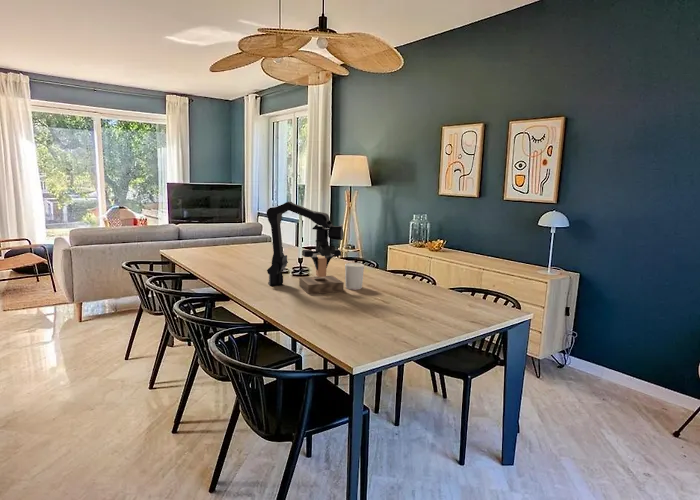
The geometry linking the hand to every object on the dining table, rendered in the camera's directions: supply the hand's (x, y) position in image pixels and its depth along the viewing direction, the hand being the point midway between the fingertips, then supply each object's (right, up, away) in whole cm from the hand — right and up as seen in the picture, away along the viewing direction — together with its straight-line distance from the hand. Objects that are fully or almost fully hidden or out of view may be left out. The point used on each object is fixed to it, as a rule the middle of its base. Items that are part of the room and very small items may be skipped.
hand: (321, 269), depth 217 cm
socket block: (0, -10, +2) cm, 10 cm away
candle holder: (+16, -10, +6) cm, 20 cm away
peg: (0, -3, 0) cm, 3 cm away
